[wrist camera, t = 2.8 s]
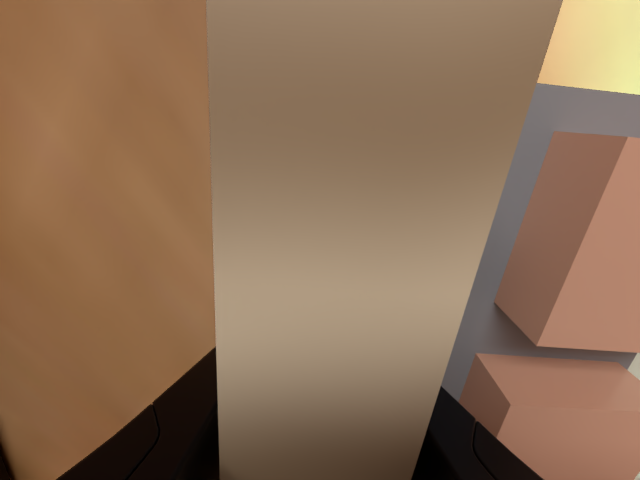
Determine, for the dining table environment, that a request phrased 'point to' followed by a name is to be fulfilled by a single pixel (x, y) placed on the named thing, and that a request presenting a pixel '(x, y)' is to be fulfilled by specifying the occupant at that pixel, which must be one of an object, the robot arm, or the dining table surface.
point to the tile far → (559, 414)
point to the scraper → (353, 215)
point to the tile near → (579, 248)
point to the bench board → (540, 123)
